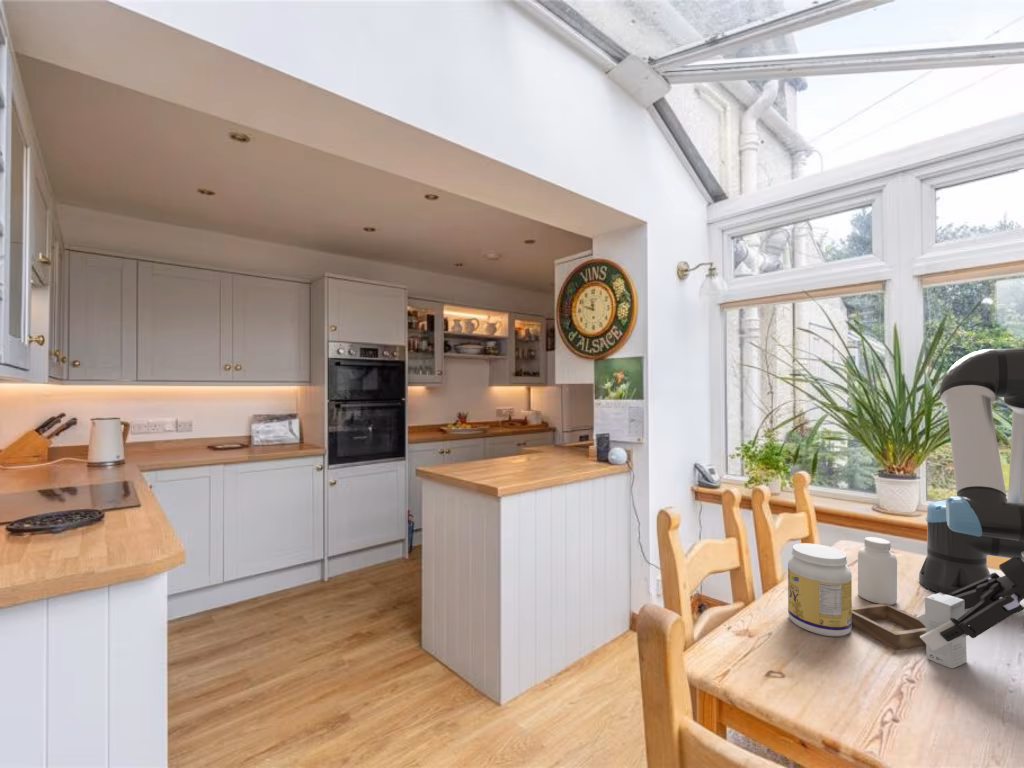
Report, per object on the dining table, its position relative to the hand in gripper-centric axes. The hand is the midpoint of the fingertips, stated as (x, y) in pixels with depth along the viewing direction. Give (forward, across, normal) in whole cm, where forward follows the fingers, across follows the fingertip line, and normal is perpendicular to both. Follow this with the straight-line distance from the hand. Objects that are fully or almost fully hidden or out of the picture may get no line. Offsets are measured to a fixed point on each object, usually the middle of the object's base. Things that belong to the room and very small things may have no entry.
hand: (924, 632), depth 96 cm
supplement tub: (+16, +1, +10) cm, 19 cm away
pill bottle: (+9, +26, +2) cm, 27 cm away
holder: (+7, +7, +1) cm, 10 cm away
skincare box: (+1, 0, -5) cm, 5 cm away
